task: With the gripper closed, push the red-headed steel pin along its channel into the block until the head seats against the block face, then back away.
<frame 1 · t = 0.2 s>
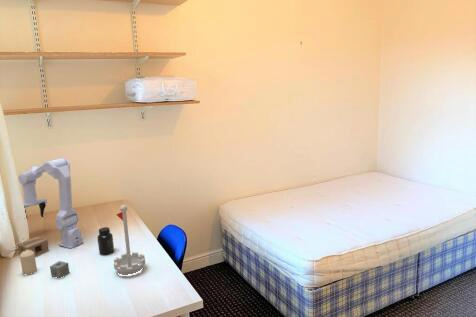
hand: (34, 218, 200), 10 cm above the table, tool pointing down, fingers open, 7 cm apart
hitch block: (34, 253, 182), on the table
supplement bottle: (106, 252, 180), on the table
flag stand: (130, 270, 163), on the table
pin: (25, 245, 184), point 3 cm above the table, slide at 7.0 cm
dice cube: (60, 275, 161), on the table
candle: (30, 272, 164), on the table
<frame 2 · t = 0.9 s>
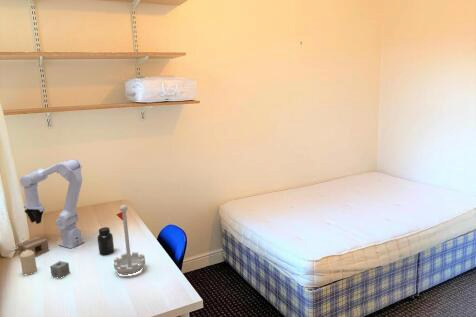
hand: (36, 222, 193), 10 cm above the table, tool pointing down, fingers open, 4 cm apart
nothing on the table moved.
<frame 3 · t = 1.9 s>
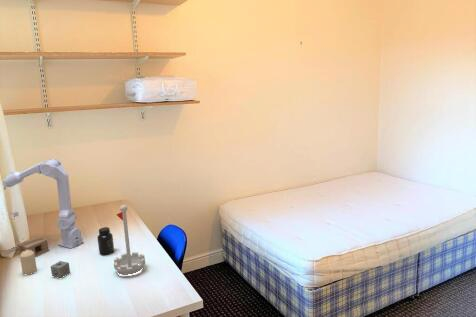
hand: (10, 227, 187), 10 cm above the table, tool pointing down, fingers closed
nothing on the table moved.
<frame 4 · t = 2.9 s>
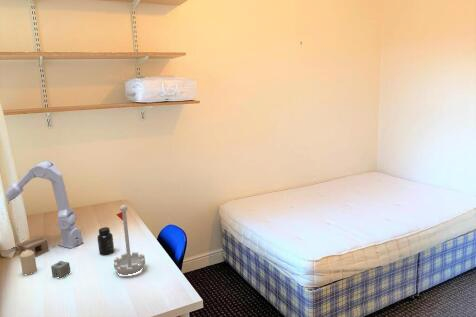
hand: (13, 242, 189), 2 cm above the table, tool pointing down, fingers closed
nothing on the table moved.
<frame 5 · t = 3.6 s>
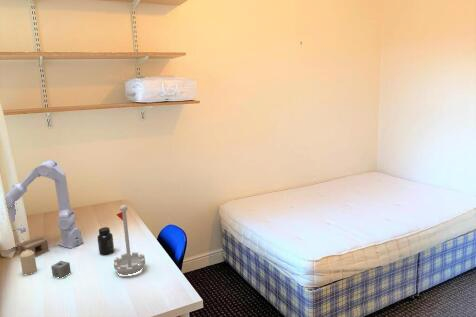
hand: (16, 243, 188), 2 cm above the table, tool pointing down, fingers closed
pin: (25, 245, 184), point 3 cm above the table, slide at 6.9 cm, touching gripper
everything else where it was.
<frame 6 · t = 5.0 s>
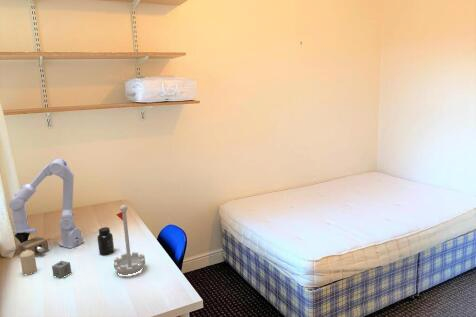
hand: (24, 246, 184), 2 cm above the table, tool pointing down, fingers closed
pin: (34, 247, 180), point 3 cm above the table, slide at -0.1 cm, touching gripper
everything else where it was.
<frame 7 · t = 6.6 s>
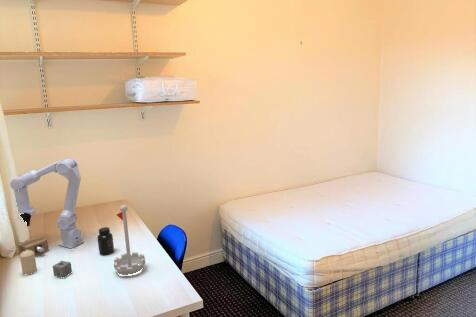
hand: (26, 226, 189), 10 cm above the table, tool pointing down, fingers closed
pin: (34, 247, 180), point 3 cm above the table, slide at 0.0 cm
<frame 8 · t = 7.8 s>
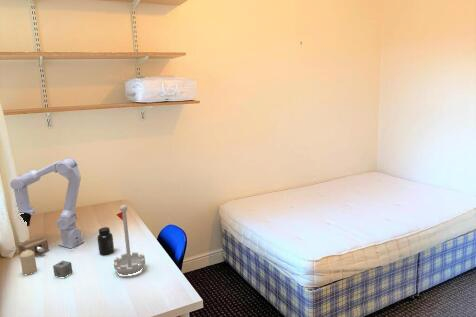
hand: (26, 226, 189), 10 cm above the table, tool pointing down, fingers closed
at the end: pin slide at 0.0 cm; the gripper is holding nothing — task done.
